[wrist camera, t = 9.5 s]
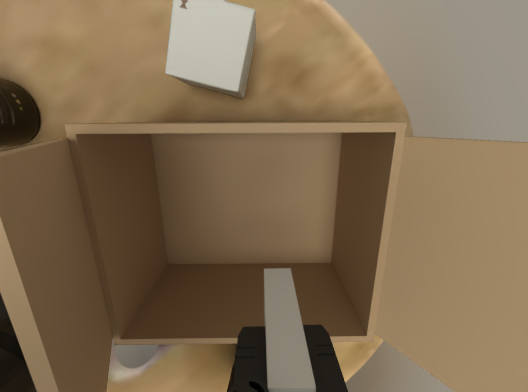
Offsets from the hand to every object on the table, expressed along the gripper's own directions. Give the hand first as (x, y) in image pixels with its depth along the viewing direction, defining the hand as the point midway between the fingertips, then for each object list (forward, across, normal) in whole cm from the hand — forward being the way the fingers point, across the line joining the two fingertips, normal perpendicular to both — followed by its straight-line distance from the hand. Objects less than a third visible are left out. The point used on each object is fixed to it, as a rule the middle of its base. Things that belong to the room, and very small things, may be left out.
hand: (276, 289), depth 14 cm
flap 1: (0, -11, 0) cm, 11 cm away
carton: (+17, -2, 0) cm, 17 cm away
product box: (+17, -5, +15) cm, 23 cm away
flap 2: (0, +12, 0) cm, 12 cm away
